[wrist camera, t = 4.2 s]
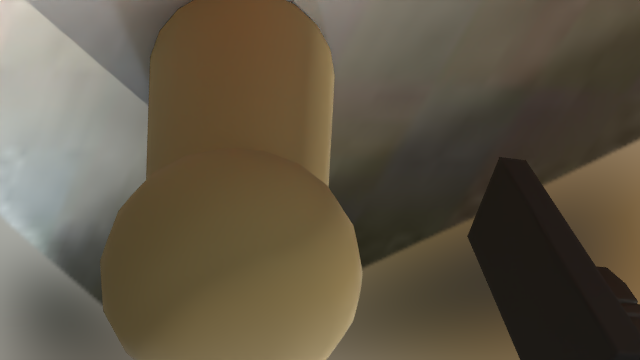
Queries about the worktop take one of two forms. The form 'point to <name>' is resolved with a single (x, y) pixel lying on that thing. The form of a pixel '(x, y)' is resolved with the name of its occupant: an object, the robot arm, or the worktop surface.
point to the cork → (235, 196)
